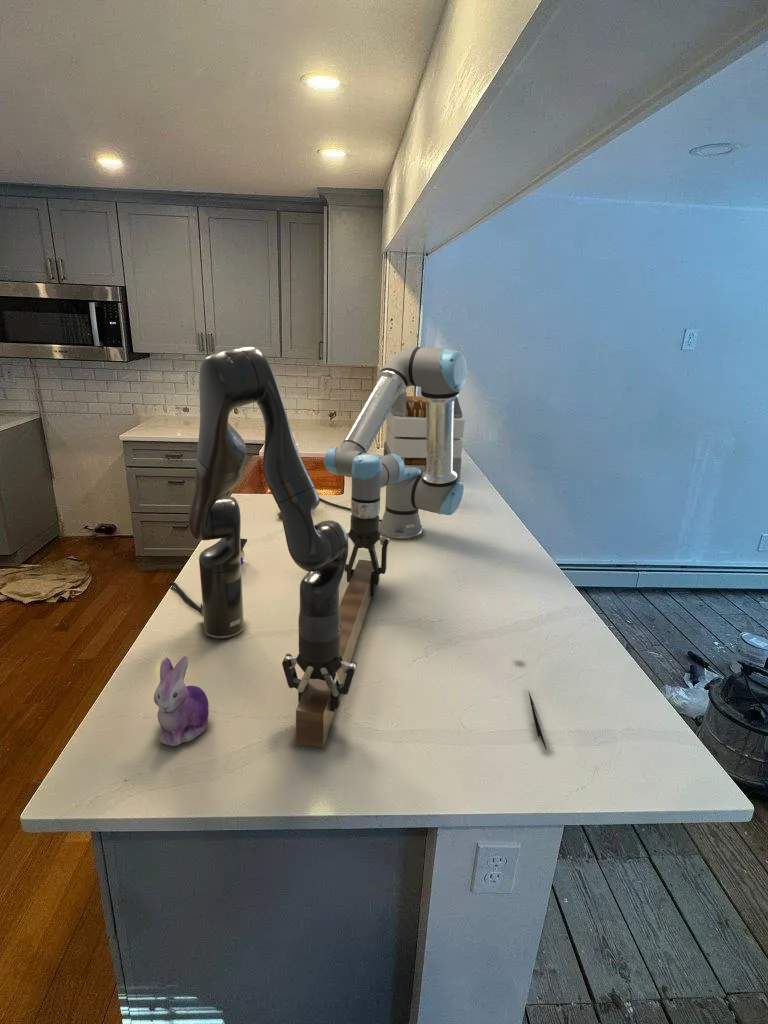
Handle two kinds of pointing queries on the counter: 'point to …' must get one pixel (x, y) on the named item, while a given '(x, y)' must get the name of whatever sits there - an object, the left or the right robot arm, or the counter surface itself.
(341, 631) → the post
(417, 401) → the white wooden crate
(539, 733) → the feather
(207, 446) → the left robot arm
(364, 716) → the counter surface
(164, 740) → the figurine
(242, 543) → the figurine character
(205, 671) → the counter surface
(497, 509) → the counter surface
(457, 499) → the right robot arm
